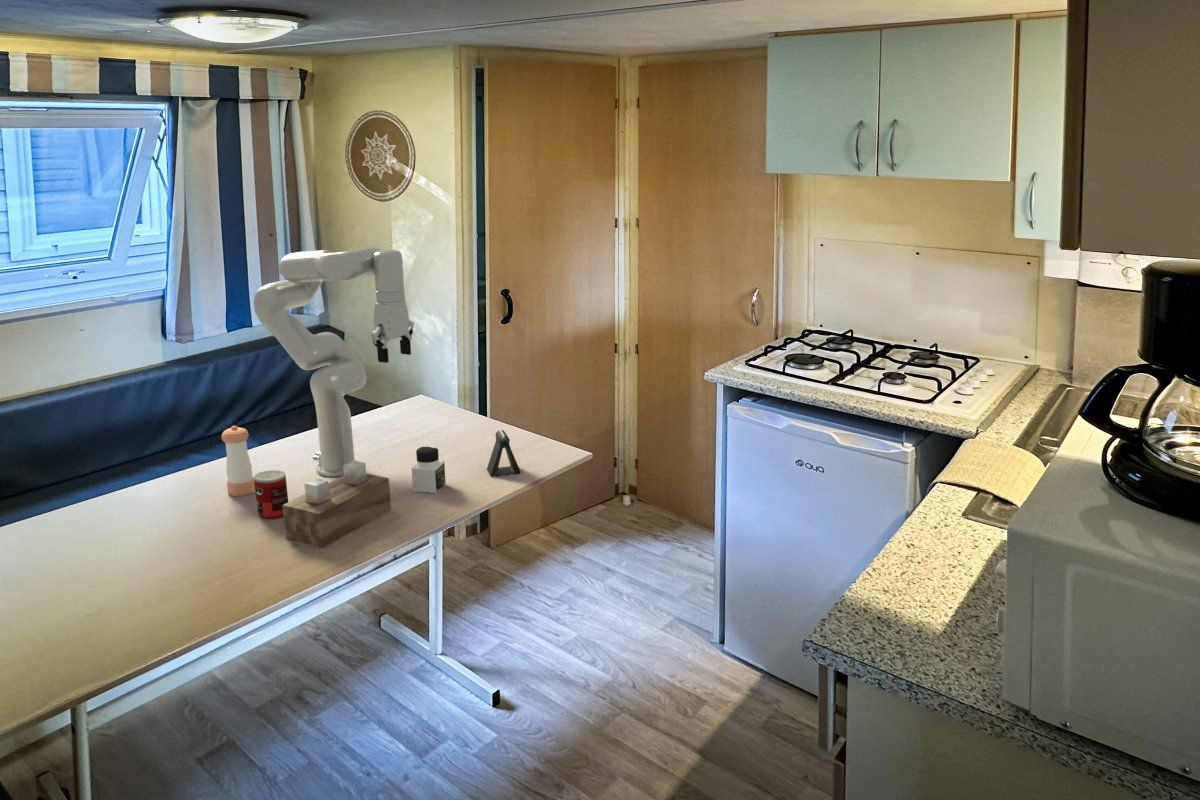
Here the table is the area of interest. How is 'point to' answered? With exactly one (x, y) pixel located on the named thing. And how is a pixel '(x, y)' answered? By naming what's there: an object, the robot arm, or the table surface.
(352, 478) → the pin
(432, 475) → the medicine bottle
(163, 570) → the table surface
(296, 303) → the robot arm
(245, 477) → the pepper shaker
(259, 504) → the canned food
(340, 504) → the walnut block
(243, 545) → the table surface
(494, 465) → the phone stand
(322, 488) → the pin
